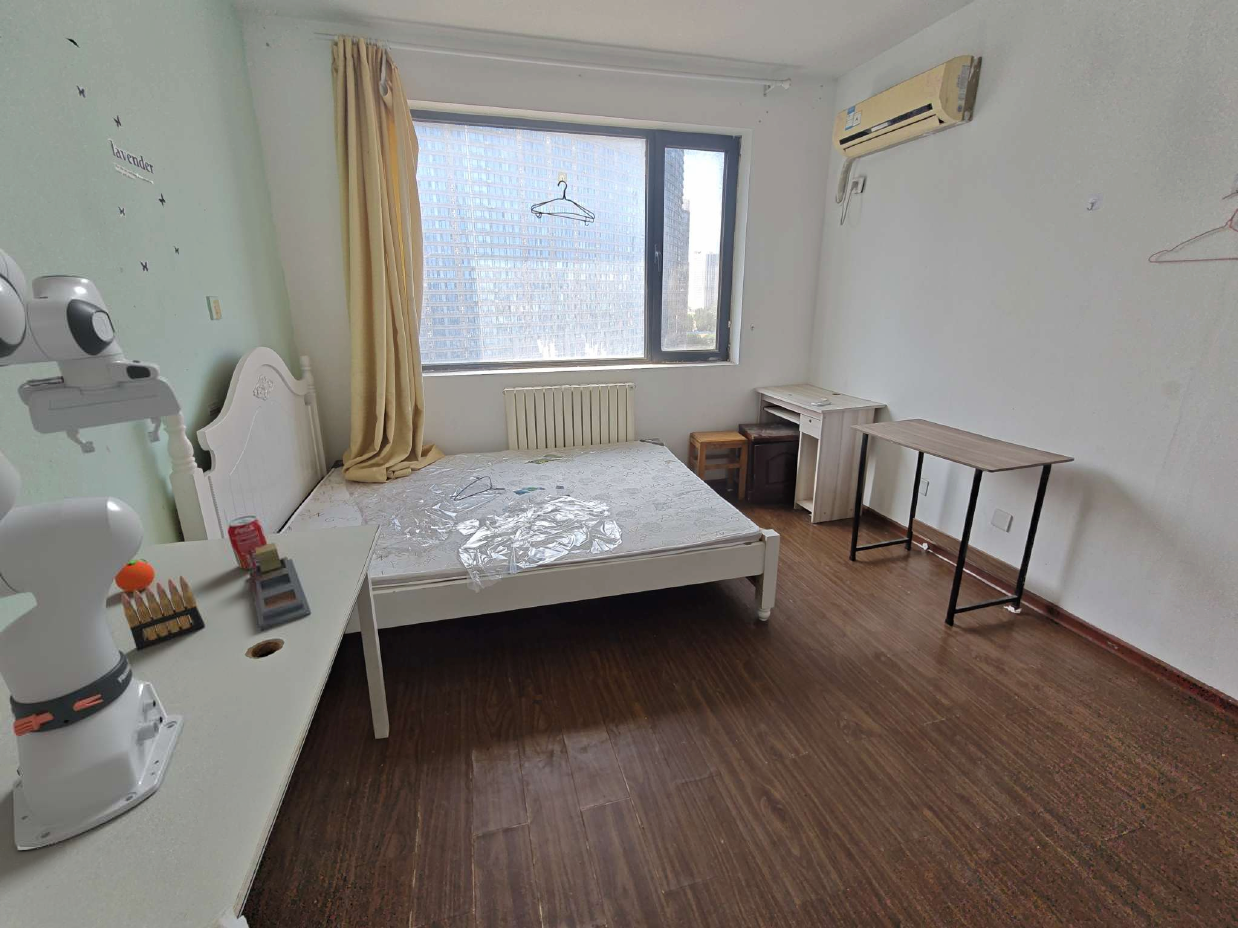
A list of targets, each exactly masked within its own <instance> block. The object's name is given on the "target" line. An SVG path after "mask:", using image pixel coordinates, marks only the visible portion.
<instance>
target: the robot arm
mask: <svg viewBox="0 0 1238 928" xmlns="http://www.w3.org/2000/svg"><path fill="white" fill-rule="evenodd" d="M31 288H32V294H33V297H34V298H27V291H28V288H27V280H26V278H25V275H24V273H23V271H22V270H21V268H20V267H19V265H18V263H17V262H16V261H15V260H14V259H13V258H12V257H11V256H10V254H8V253H7V252H6V251H4V250H3V249H2V248H1V247H0V368H1V367H8V366H13V365H16V366H17V365H24V364H25V365H26V364H28V365H29V364H37V363H38V364H39V363H48V362H49V363H50V362H56V364H57V367H58V369H59V372H60V374H61V375H60V376H50V377H45V378H38V379H37V378H34V379H33V378H32V379H27V380H26V382H24V383H21V384H20V385H19V387H18V388H17V393H18V395H19V398H20V401H21V402H22V403H23V404H24V405H26V406H27V408H28V412H29V413H28V414H29V416H30V417H29V418H30V421H31V424H32V427H33V430H35V431H36V432H38V433H40V434H41V435H46V434H54V433H61V432H65V433H66V436H67V438H68V439H70V440H71V441H72V442H74V443H76V444H77V445H78V446H80V449H81V451H82V453H83V455H84V454H89V453H90V454H91V453H95V452H96V448H95V446H94V443H93V441H92V440H90V441H86V440H84V439H83V438H82V437H81V436H79V434H80V430H81V429H87V428H95V427H102V426H109V425H114V424H115V425H116V424H121V423H128V422H135V421H141V420H147V419H148V420H149V419H150V422H151V424H153V425H154V424H155V425H154V427H153V430H152V431H148V432H147V437H148V438H149V439H148V440H149V442H150V443H154V442H156V443H157V442H160V441H161V437H160V434H159V430H160V428H161V425H162V423H163V420H162V417H168V416H169V417H170V416H174V415H175V416H176V415H179V413H180V412H181V411H182V404H181V402H180V400H179V397H178V395H177V392H176V391H175V389H174V387H173V386H172V383H171V382H170V381H169V380H168V379H167V378H166V377H164V376H162V375H161V373H162V370H161V368H160V365H158V363H155V362H151V361H143V360H135V359H127V358H125V354H124V352H123V350H122V348H121V347H120V345H119V344H118V342H117V341H116V335H117V334H116V331H115V326H114V323H113V320H112V318H111V316H110V312H109V310H108V308H107V306H106V304H105V301H104V300H103V298H102V296H101V294H100V292H99V290H98V288H97V287H96V285H95V284H94V282H93V281H92V280H91V279H88V278H86V277H82V276H76V275H63V274H61V275H59V274H57V275H56V274H55V275H53V274H52V275H44V276H40V277H36V278H34V279H33V280H32V281H31ZM21 492H22V479H21V475H20V473H19V472H18V470H17V469H16V468H15V466H14V465H13V464H12V462H10V460H9V459H8V458H7V456H5V454H4V453H3V452H2V451H1V450H0V599H4V598H7V597H8V598H9V597H13V596H16V595H21V594H26V593H31V594H32V595H33V597H34V599H35V601H36V605H35V606H34V607H32V608H30V609H29V610H28V611H26V612H24V613H23V614H21V615H20V616H19V617H17V618H15V619H14V620H13V621H11V622H10V623H9V624H8V625H7V626H5V628H3V629H2V630H1V631H0V675H1V677H2V680H3V681H4V683H5V685H6V686H7V689H8V691H9V693H10V696H9V703H10V711H11V714H12V717H13V719H14V721H13V727H12V728H13V734H14V735H15V737H16V744H17V753H18V761H19V762H18V763H19V766H18V767H17V770H16V772H17V775H18V776H17V778H15V779H14V781H13V783H12V789H13V790H12V791H13V792H12V793H13V794H12V796H13V799H12V800H13V827H14V828H13V829H14V831H13V833H14V836H13V837H14V845H15V844H16V845H15V847H16V846H20V847H38V846H43V845H44V846H45V845H48V844H51V845H54V844H57V843H60V842H62V841H65V840H68V839H70V838H72V837H74V836H77V835H79V834H82V833H84V832H86V831H88V830H91V829H93V828H96V827H97V826H99V825H101V824H104V823H106V822H108V821H109V820H112V819H113V818H115V817H117V816H119V815H121V814H123V813H125V812H126V811H129V810H130V809H132V808H133V807H135V806H137V805H138V804H140V803H141V802H143V801H144V800H145V799H146V798H149V796H151V795H153V793H155V792H156V791H157V790H158V788H159V787H160V785H161V782H162V780H163V777H164V775H165V772H166V770H167V767H168V764H169V762H170V759H171V757H172V753H173V751H174V749H175V746H176V743H177V740H178V738H179V735H180V733H181V730H182V728H183V726H184V725H183V724H184V722H185V721H184V718H183V717H182V715H180V714H167V713H166V711H165V709H164V706H163V705H162V703H161V701H160V698H159V697H158V695H157V693H156V690H155V688H154V686H153V685H152V683H151V682H149V681H145V680H142V679H139V678H136V677H134V676H133V670H132V668H131V664H130V661H129V659H128V658H127V657H126V655H125V653H124V652H123V651H122V650H119V648H118V646H117V643H116V641H115V638H114V635H113V632H112V629H111V626H110V623H109V622H110V621H109V619H108V614H107V613H108V612H107V599H108V594H109V590H110V588H111V586H112V584H113V583H114V580H115V577H116V576H117V575H118V573H119V572H120V571H121V570H122V568H123V567H124V566H125V565H126V564H128V563H129V562H131V561H133V559H134V557H136V555H137V553H138V552H139V550H140V548H141V545H142V543H143V540H144V539H143V538H144V526H143V522H142V520H141V518H140V516H139V515H138V513H137V512H136V510H134V508H132V506H130V504H128V503H126V502H125V501H123V500H121V499H119V498H117V497H115V496H109V495H108V496H84V497H82V496H81V497H66V498H61V499H55V500H51V501H50V500H49V501H47V502H38V503H35V504H29V505H23V506H18V507H14V506H15V505H16V503H17V501H18V500H19V498H20V496H21ZM59 841H60V842H59ZM53 843H54V844H53ZM48 846H49V845H48ZM45 847H46V846H45Z"/></svg>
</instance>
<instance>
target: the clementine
mask: <svg viewBox="0 0 1238 928" xmlns="http://www.w3.org/2000/svg"><path fill="white" fill-rule="evenodd" d="M155 576H156V575H155V570H154V568H153V566H152V565H150V564H149V563H148V562H147V561H146V560H145V559H143V558H142V559H135V560H131V561H130V562H129V563H128V564H126V565H125V566H124V567H123V568H122V570H121V571H120V572H119V573H118V575H117V576H116V577H115V579H114V580H115V584H116V587H118V588H120V589H121V590H123V591H125V592H131V593H132V592H134V589H136V590H137V591H138V592H139V591H142V590H145V587H146V586H148V587H149V586H150V585H151V584H152V582H153V581H154V579H155Z"/></svg>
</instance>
